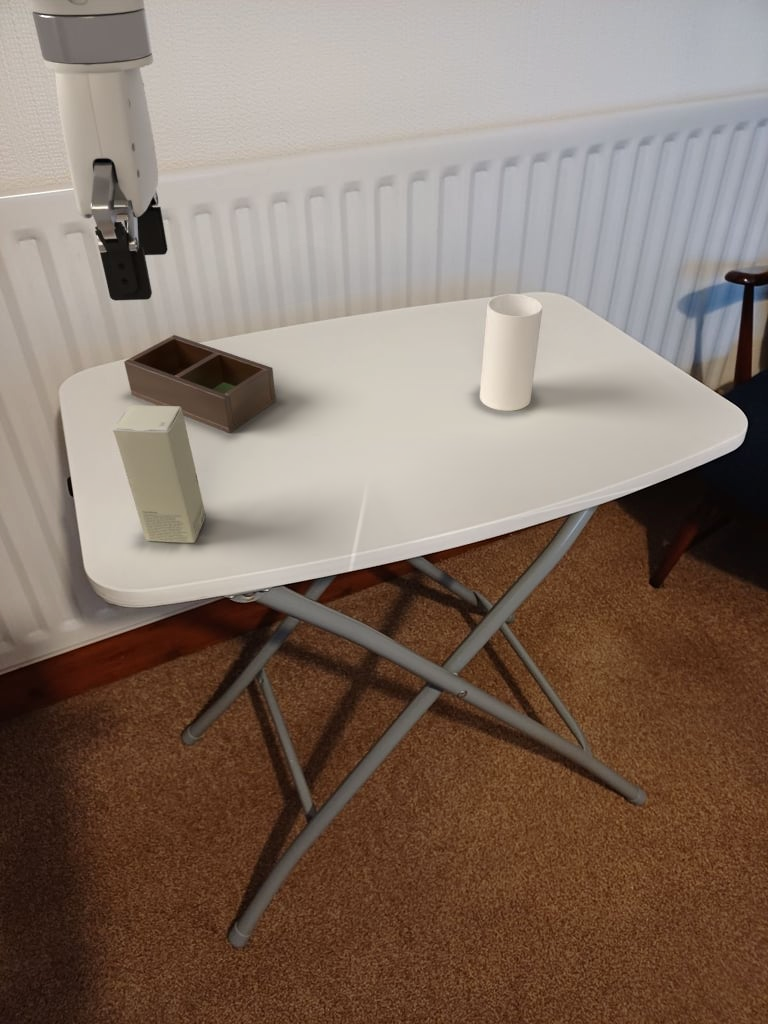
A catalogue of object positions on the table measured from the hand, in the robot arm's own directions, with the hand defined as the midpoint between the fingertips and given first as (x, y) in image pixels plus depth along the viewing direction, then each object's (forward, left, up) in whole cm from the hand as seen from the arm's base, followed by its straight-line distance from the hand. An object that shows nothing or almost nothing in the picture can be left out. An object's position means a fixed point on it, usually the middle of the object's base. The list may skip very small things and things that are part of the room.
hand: (141, 274), depth 66 cm
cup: (+35, -19, -24) cm, 47 cm away
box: (-5, -3, -24) cm, 24 cm away
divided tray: (+15, +12, -23) cm, 30 cm away
